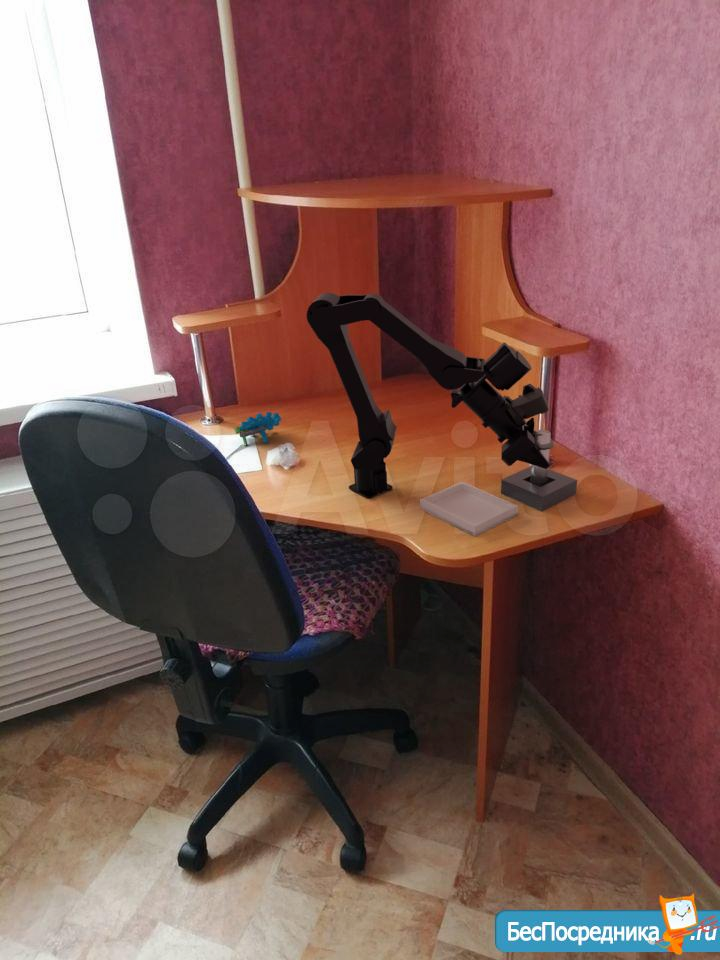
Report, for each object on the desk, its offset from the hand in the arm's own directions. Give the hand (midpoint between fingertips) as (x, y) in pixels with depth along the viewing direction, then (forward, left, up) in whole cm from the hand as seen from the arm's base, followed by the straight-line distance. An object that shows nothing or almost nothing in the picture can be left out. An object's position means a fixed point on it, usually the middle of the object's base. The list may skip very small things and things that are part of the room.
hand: (547, 462), depth 141 cm
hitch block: (-1, -1, -7) cm, 7 cm away
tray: (-5, -16, -7) cm, 18 cm away
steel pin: (-1, -1, -7) cm, 7 cm away
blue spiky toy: (-64, -25, -7) cm, 69 cm away
